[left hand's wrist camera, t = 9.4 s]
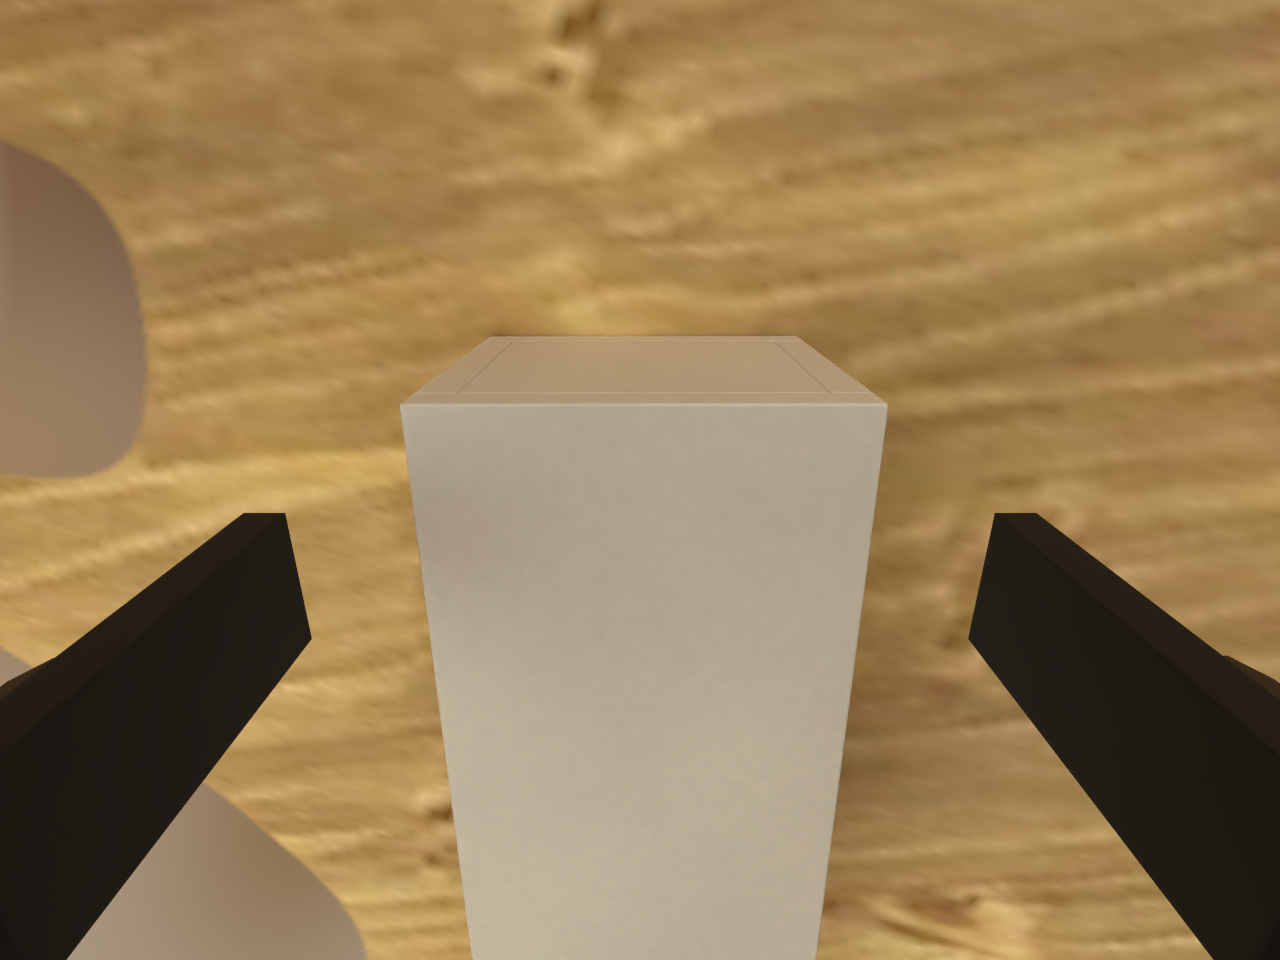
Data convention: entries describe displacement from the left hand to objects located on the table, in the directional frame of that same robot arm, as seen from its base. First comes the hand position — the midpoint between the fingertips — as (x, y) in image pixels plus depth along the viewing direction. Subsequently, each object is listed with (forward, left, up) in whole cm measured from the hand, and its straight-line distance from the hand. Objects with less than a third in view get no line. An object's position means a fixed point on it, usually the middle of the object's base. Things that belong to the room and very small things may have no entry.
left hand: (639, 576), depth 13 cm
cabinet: (+6, -3, -11) cm, 13 cm away
